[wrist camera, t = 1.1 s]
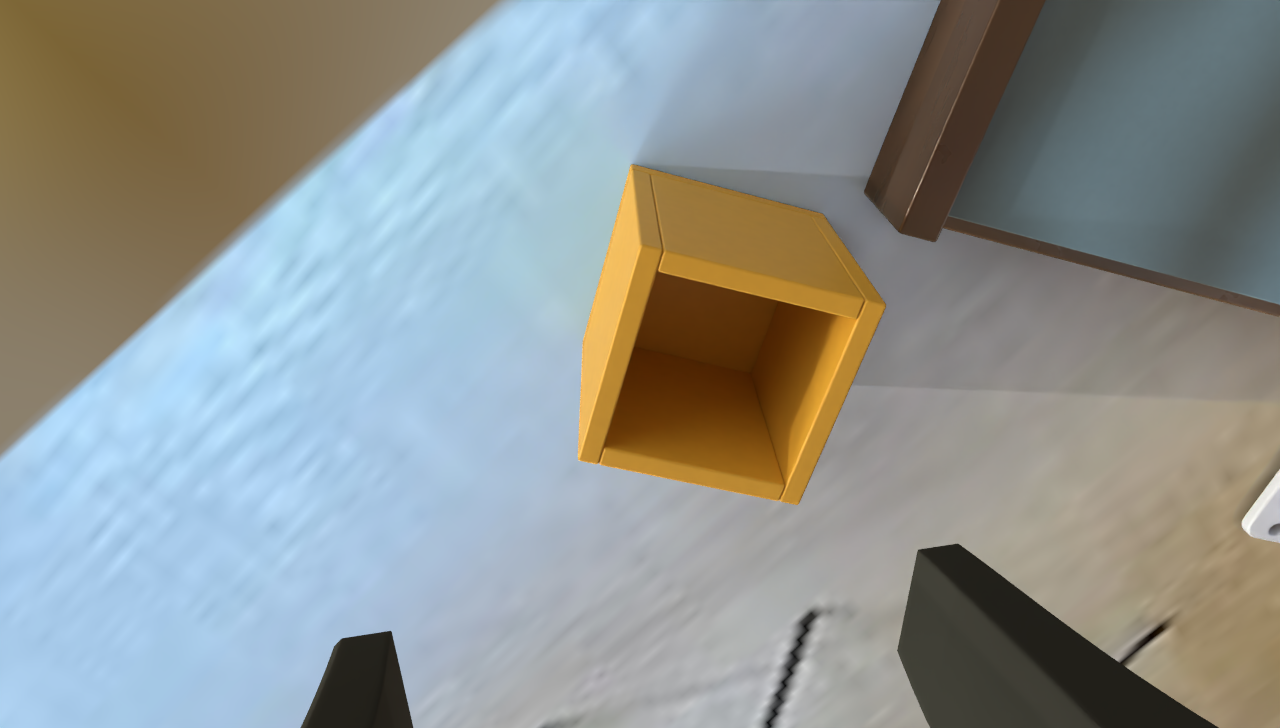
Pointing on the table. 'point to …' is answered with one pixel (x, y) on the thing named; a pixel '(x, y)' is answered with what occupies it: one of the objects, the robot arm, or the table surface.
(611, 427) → the small bin
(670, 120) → the table surface
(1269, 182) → the toy bed
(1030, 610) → the robot arm
